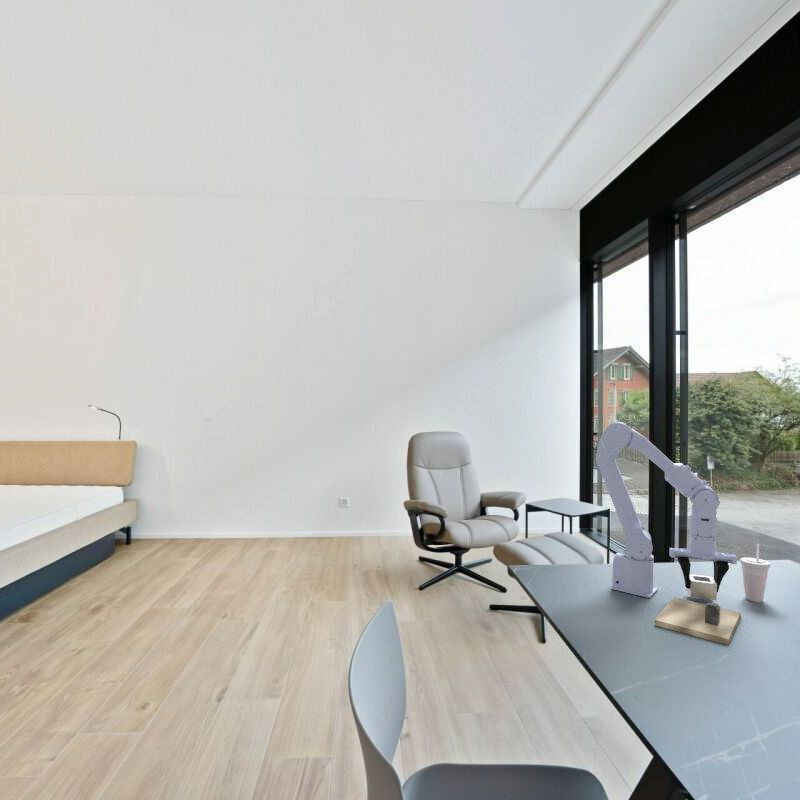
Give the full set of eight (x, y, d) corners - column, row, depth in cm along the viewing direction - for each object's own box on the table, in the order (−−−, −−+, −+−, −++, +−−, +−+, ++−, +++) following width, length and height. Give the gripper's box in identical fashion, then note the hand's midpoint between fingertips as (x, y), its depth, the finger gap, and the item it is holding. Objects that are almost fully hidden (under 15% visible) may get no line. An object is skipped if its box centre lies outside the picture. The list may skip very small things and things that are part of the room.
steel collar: (690, 597, 132) (691, 580, 132) (686, 589, 137) (687, 573, 137) (716, 600, 130) (717, 584, 130) (711, 592, 135) (711, 576, 135)
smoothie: (774, 605, 131) (775, 548, 131) (745, 602, 132) (746, 546, 132) (762, 595, 137) (763, 541, 137) (734, 593, 139) (736, 539, 138)
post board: (654, 625, 118) (655, 601, 118) (673, 601, 132) (674, 580, 132) (728, 644, 109) (729, 619, 109) (740, 617, 123) (741, 595, 123)
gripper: (673, 535, 132) (671, 590, 132) (741, 541, 127) (739, 599, 127) (668, 528, 139) (667, 581, 139) (733, 534, 134) (731, 589, 134)
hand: (701, 589), depth 133 cm, fingers closed on steel collar, 6 cm apart
